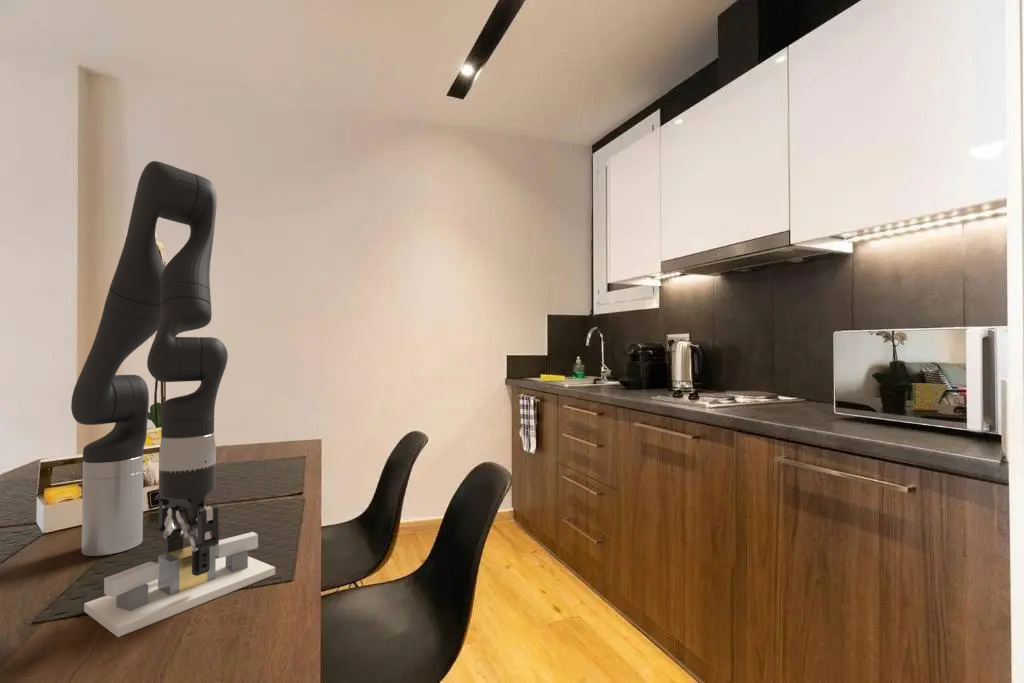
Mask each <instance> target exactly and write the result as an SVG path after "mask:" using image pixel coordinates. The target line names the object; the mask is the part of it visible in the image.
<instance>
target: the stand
mask: <svg viewBox="0 0 1024 683" xmlns="http://www.w3.org/2000/svg"><path fill="white" fill-rule="evenodd" d="M214 547H216V557H217V558H216V568H215V579H214V580H211V581H209V582H206V583H203V584H200V585H198V586H195V587H192V588H190V589H187V590H184V591H182V592H179V593H176V594H173V595H171V596H170V595H168V594H166V593H164V592H163V591H161V590H159V589H158V579H159V564H158V562H153V561H148V562H145V563H142V564H139V565H136V566H134V567H131V568H129V569H125V570H123V571H119V572H118V573H115V574H112V575H110V576H106V577H104V578H103V582H104V583H103V585H104V586H103V594H104V595H105V596H101V597H98V598H95V599H92V600H90V601H87V602H84V604H83V609H84V610H83V611H84V613H86V614H87V615H88V616H89V617H91V618H92V619H94V620H95V622H98V623H99V625H101V626H103V627H104V628H105V629H107V630H108V631H109V632H111V633H112V634H113V635H114V636H116V637H117V638H120V637H122V636H124V635H128V634H130V633H132V632H134V631H137V630H139V629H142V628H144V627H146V626H150V625H152V624H154V623H155V624H156V623H157V622H159V621H162V620H165V619H167V618H170V617H172V616H174V615H177V614H180V613H182V612H185V611H186V610H189V609H192V608H195V607H197V606H200V605H202V604H204V603H207V602H210V601H212V600H214V599H217V598H219V597H222V596H225V595H227V594H229V593H232V592H235V591H237V590H240V589H241V588H245V587H247V586H250V585H252V584H254V583H258V582H259V581H262V580H264V579H267V578H270V577H272V576H274V575H276V566H273V565H272V564H271V565H270V564H268V563H266V562H263V561H261V560H260V559H259V560H258V559H256V558H253V557H251V556H249V551H251V550H255V549H258V548H259V534H258V533H256V532H254V531H250V532H247V533H242V534H239V535H235V536H231V537H227V538H224V539H223V538H222V539H219V543H218V545H215V546H214Z"/></svg>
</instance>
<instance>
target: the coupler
mask: <svg viewBox="0 0 1024 683" xmlns="http://www.w3.org/2000/svg"><path fill="white" fill-rule="evenodd" d="M192 551H193V550H192V547H191V545H190V546H187V547H183V549H180V550H177V551H173V552H170V553H167V554H166V553H164V554H160V555H158V556H157V560H158V561H157V563H158V564H159V579H158V589H159V590H161V591H163V592H164V593H166V594H168V595H170V596H171V595H173V594H176V593H179V592H182V591H184V590H187V589H190V588H192V587H195V586H198V585H200V584H203V583H206V582H209V581H211V580H214V579H215V568H216V559H217V558H216V557H217V556H216V547H215V546H212V547H210V568H209V571H208V572H206V573H204V574H201V575H198V576H195V575H193V574H192Z"/></svg>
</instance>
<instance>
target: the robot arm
mask: <svg viewBox="0 0 1024 683" xmlns="http://www.w3.org/2000/svg"><path fill="white" fill-rule="evenodd" d="M217 199H218V198H217V192H216V188H215V185H214V183H213V182H212V181H211V180H209V179H208V178H206V177H204V176H202V175H199V174H196V173H193V172H189V171H187V170H184V169H181V168H179V167H176V166H174V165H171V164H167V163H164V162H161V161H157V160H152V161H150V162H148V163H147V164H146V165H145V167H144V169H143V170H142V172H141V175H140V176H139V180H138V183H137V188H136V191H135V196H134V200H133V205H132V208H131V209H132V210H131V214H130V218H129V223H128V227H127V233H126V236H125V241H124V244H123V247H122V250H121V255H120V257H119V260H118V263H117V266H116V268H115V271H114V275H113V278H112V280H111V283H110V286H109V289H108V292H107V296H106V299H105V301H104V302H105V303H104V306H103V310H102V315H101V318H100V322H99V325H98V328H97V330H96V335H95V337H94V341H93V344H92V346H91V349H90V350H89V353H88V356H87V357H86V360H85V362H84V364H83V367H82V369H81V371H80V373H79V376H78V378H77V381H76V384H75V385H74V388H73V393H72V395H71V402H70V408H71V410H70V411H71V413H72V416H73V418H74V420H75V421H76V422H77V423H79V424H81V425H85V426H92V425H93V426H96V425H105V424H114V423H115V424H114V426H113V428H112V429H111V430H110V432H108V433H106V434H105V435H104V436H102V437H101V438H98V439H96V440H94V441H92V442H90V443H88V444H87V445H85V446H84V448H83V449H82V450H83V451H82V502H81V503H82V504H81V505H82V506H81V507H82V512H81V513H82V514H81V517H82V518H81V554H82V555H84V556H88V557H89V556H90V557H98V556H99V557H100V556H106V555H112V554H117V553H121V552H125V551H128V550H131V549H133V548H136V547H138V546H139V545H141V544H142V543H143V540H144V539H143V538H144V537H143V534H144V533H143V530H144V529H143V524H144V523H143V522H144V448H145V445H146V441H147V437H148V436H147V434H148V417H149V405H150V397H149V396H150V394H149V388H148V385H147V382H146V381H145V379H144V378H143V377H141V376H140V375H137V374H117V372H118V370H119V369H120V367H121V365H122V364H123V362H124V361H125V360H126V359H127V358H128V357H129V356H130V355H131V354H132V353H133V352H135V351H136V350H138V348H139V347H140V346H142V345H144V343H145V342H147V341H148V340H149V339H150V338H151V337H152V336H153V335H154V334H155V336H154V338H153V342H152V344H151V346H150V349H149V352H148V355H147V361H146V362H147V363H146V366H147V370H148V373H149V374H150V375H151V377H153V378H154V380H156V381H158V382H161V383H176V382H177V383H179V382H183V383H184V382H200V385H199V386H198V388H197V389H195V390H194V391H193V392H191V393H188V394H185V395H181V396H175V397H172V398H168V399H166V400H165V401H164V402H163V403H162V405H161V406H162V407H161V414H160V415H161V420H160V421H161V423H160V424H161V429H160V434H161V435H160V436H161V437H160V438H161V439H160V444H159V450H158V451H159V453H158V495H159V504H158V530H157V531H158V532H159V534H161V533H162V534H163V536H162V537H163V538H164V539H165V554H167V553H170V552H173V551H177V550H180V549H183V548H184V538H185V539H186V540H188V541H189V543H190V546H191V547H192V550H193V551H192V574H193V575H195V576H198V575H201V574H204V573H206V572H208V571H209V568H210V547H212V546H213V547H215V545H218V543H219V540H220V539H219V537H220V535H219V533H220V532H219V530H220V529H219V507H218V506H217V504H214V505H210V506H208V505H207V500H206V496H208V494H211V493H212V492H214V491H215V490H216V489H215V488H217V487H216V485H217V484H216V478H217V477H216V474H217V473H216V472H217V471H216V469H217V468H216V467H217V466H216V465H217V464H216V463H217V462H216V461H217V460H216V458H217V455H216V454H217V447H216V446H217V445H216V439H215V438H216V437H215V407H216V401H217V395H218V391H219V388H220V385H221V382H222V379H223V375H224V374H225V370H226V367H227V364H228V359H229V358H228V356H229V355H228V354H229V353H228V350H227V347H226V345H225V343H223V342H222V341H221V340H220V339H219V338H217V337H210V336H207V337H204V336H199V337H198V336H178V335H180V334H181V333H184V332H185V333H186V332H189V331H194V330H199V329H203V328H205V327H207V326H208V325H209V324H210V323H211V321H212V299H211V297H212V296H211V286H210V284H211V282H210V280H211V279H210V274H211V272H210V270H211V268H210V267H211V259H212V252H213V243H214V236H215V226H216V214H217V203H218V202H217ZM159 218H161V219H164V220H168V221H171V222H175V223H178V224H182V225H187V226H189V228H190V230H189V231H190V233H189V237H188V240H187V241H186V242H185V244H184V245H183V247H182V248H180V250H179V251H178V252H177V253H176V254H175V255H174V256H173V257H172V258H171V259H170V261H169V262H168V263H167V264H166V265H165V264H164V262H163V259H162V257H161V255H160V251H159V248H158V245H157V239H156V230H157V229H156V227H157V223H158V219H159Z"/></svg>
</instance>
